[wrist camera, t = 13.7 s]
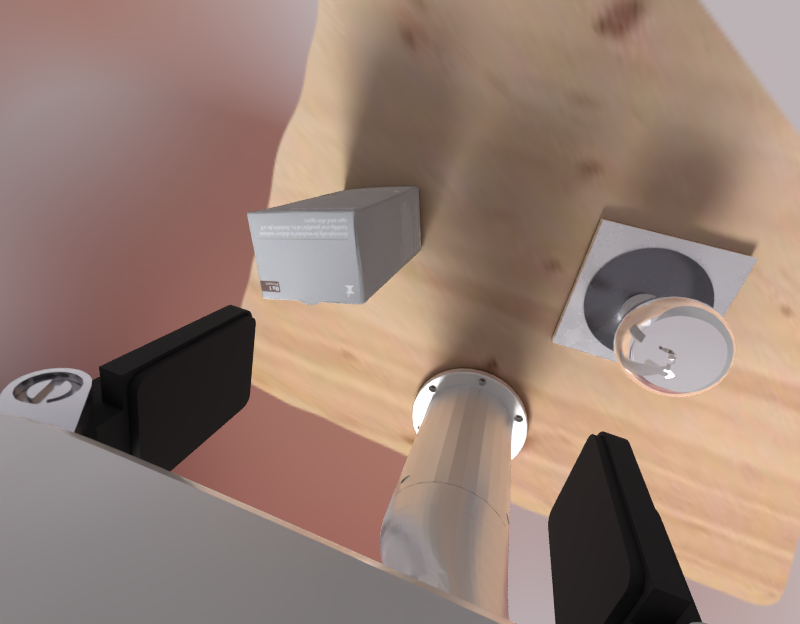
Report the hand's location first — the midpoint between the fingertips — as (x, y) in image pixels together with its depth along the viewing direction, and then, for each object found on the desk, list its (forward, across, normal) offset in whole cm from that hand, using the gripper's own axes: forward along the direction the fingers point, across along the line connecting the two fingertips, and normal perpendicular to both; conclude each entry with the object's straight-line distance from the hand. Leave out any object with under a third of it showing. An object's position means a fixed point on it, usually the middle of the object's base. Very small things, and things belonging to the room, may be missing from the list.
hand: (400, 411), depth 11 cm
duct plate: (+30, -15, +2) cm, 34 cm away
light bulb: (+29, -14, +2) cm, 33 cm away
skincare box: (+31, +10, +2) cm, 32 cm away
